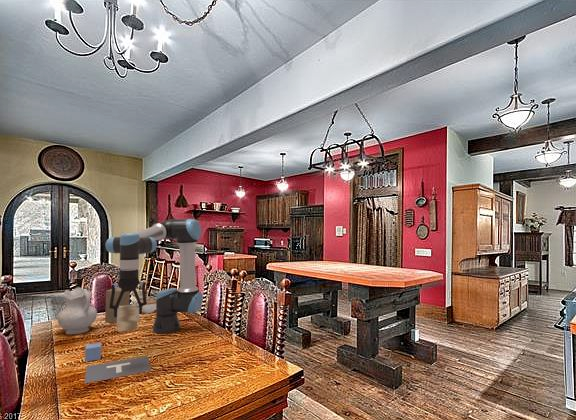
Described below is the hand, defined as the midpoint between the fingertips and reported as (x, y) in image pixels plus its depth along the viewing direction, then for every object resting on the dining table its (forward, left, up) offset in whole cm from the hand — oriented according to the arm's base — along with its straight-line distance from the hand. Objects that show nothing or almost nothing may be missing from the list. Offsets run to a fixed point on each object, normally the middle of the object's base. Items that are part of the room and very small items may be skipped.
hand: (127, 323), depth 142 cm
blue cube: (+13, -18, -19) cm, 29 cm away
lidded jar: (-18, -96, -19) cm, 100 cm away
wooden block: (+2, -83, -19) cm, 85 cm away
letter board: (+3, 0, -19) cm, 19 cm away
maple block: (0, 0, -2) cm, 2 cm away
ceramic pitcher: (+22, -68, -19) cm, 74 cm away
